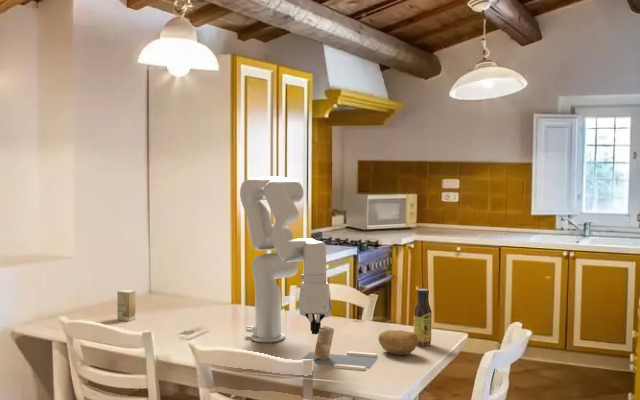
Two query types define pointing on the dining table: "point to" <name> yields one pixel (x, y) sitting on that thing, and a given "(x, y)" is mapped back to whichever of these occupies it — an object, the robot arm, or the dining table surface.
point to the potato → (398, 341)
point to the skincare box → (126, 305)
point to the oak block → (323, 343)
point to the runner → (346, 360)
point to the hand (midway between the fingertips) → (315, 333)
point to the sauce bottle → (423, 318)
